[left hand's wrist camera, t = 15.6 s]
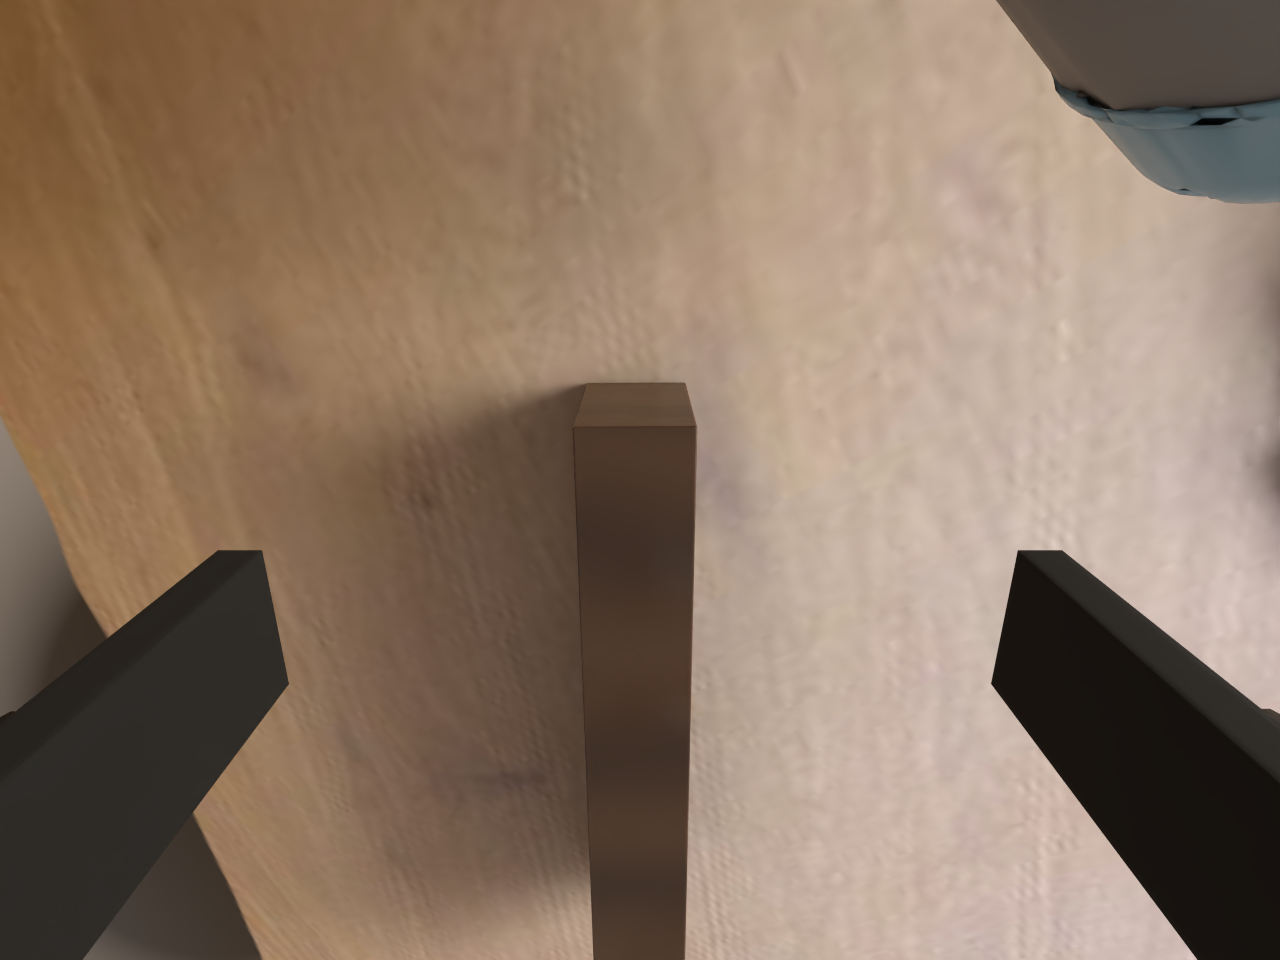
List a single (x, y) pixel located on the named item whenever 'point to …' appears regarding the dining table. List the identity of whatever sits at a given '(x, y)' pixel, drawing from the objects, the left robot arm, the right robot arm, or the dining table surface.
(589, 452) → the beam
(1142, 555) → the dining table surface
